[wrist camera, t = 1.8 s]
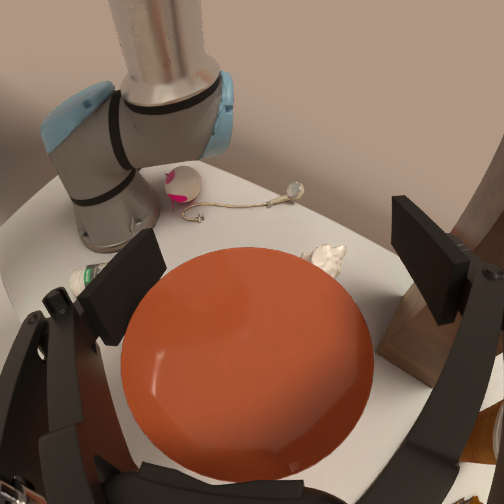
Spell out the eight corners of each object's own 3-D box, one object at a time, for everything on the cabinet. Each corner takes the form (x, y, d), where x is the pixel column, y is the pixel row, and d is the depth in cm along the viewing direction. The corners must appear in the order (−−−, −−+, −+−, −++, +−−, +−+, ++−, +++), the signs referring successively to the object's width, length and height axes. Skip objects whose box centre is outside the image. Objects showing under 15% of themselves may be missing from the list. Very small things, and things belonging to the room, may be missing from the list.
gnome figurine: (289, 263, 39) (299, 198, 30) (345, 291, 36) (373, 232, 27) (252, 316, 34) (251, 260, 25) (313, 350, 32) (340, 305, 22)
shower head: (177, 193, 43) (294, 169, 47) (181, 208, 46) (293, 185, 49) (180, 215, 40) (307, 188, 44) (185, 231, 43) (305, 204, 46)
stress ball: (143, 203, 42) (176, 218, 41) (160, 156, 41) (195, 168, 40) (165, 205, 50) (196, 218, 49) (181, 164, 48) (212, 176, 47)
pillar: (432, 388, 27) (626, 239, 3) (374, 352, 31) (542, 139, 7) (454, 328, 32) (590, 169, 8) (403, 295, 36) (516, 101, 12)
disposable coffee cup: (493, 445, 19) (553, 429, 10) (448, 485, 18) (511, 485, 8) (477, 394, 25) (536, 366, 15) (431, 430, 24) (495, 414, 14)
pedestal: (194, 369, 30) (119, 268, 14) (286, 350, 32) (323, 230, 15) (213, 459, 24) (139, 493, 7) (312, 436, 25) (406, 431, 8)
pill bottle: (118, 279, 32) (65, 285, 31) (131, 302, 35) (80, 306, 34) (124, 252, 35) (74, 260, 34) (135, 275, 38) (87, 281, 38)
